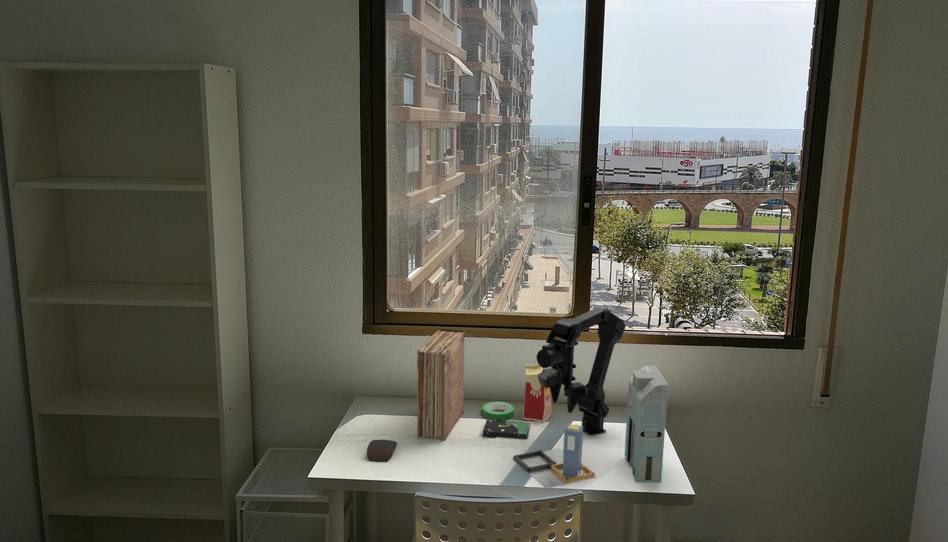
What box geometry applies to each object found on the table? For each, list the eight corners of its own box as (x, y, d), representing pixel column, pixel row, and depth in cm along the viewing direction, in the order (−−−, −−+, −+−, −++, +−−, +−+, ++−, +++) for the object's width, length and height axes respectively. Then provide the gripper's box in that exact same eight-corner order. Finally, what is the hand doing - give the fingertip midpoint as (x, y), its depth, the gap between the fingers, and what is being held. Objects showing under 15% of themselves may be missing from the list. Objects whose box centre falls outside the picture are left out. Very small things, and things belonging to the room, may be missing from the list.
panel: (559, 449, 247) (559, 445, 247) (596, 478, 228) (596, 474, 228) (511, 459, 240) (511, 454, 240) (545, 490, 221) (545, 485, 221)
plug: (566, 467, 234) (567, 422, 231) (580, 470, 232) (583, 425, 229) (561, 475, 229) (563, 429, 226) (577, 478, 227) (579, 432, 224)
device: (624, 457, 243) (629, 365, 236) (649, 457, 243) (655, 365, 236) (634, 482, 227) (640, 384, 220) (661, 482, 227) (668, 385, 220)
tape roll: (509, 422, 268) (509, 415, 267) (478, 418, 271) (478, 411, 270) (517, 410, 278) (517, 403, 278) (487, 407, 281) (487, 400, 281)
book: (444, 441, 252) (444, 353, 245) (416, 438, 254) (416, 350, 247) (463, 412, 276) (464, 330, 269) (438, 409, 278) (439, 328, 271)
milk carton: (551, 413, 276) (553, 359, 271) (544, 423, 267) (546, 367, 263) (526, 409, 279) (527, 356, 274) (519, 419, 270) (520, 364, 266)
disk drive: (482, 439, 256) (527, 442, 253) (482, 431, 255) (527, 433, 253) (486, 426, 266) (530, 428, 263) (486, 418, 265) (530, 421, 263)
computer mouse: (364, 462, 237) (364, 450, 237) (374, 443, 251) (374, 431, 250) (390, 463, 237) (390, 451, 236) (399, 444, 250) (399, 433, 249)
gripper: (527, 354, 249) (525, 400, 252) (557, 373, 232) (555, 422, 236) (557, 350, 253) (555, 396, 257) (588, 368, 237) (586, 416, 240)
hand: (562, 407), depth 247 cm, fingers open, 9 cm apart
